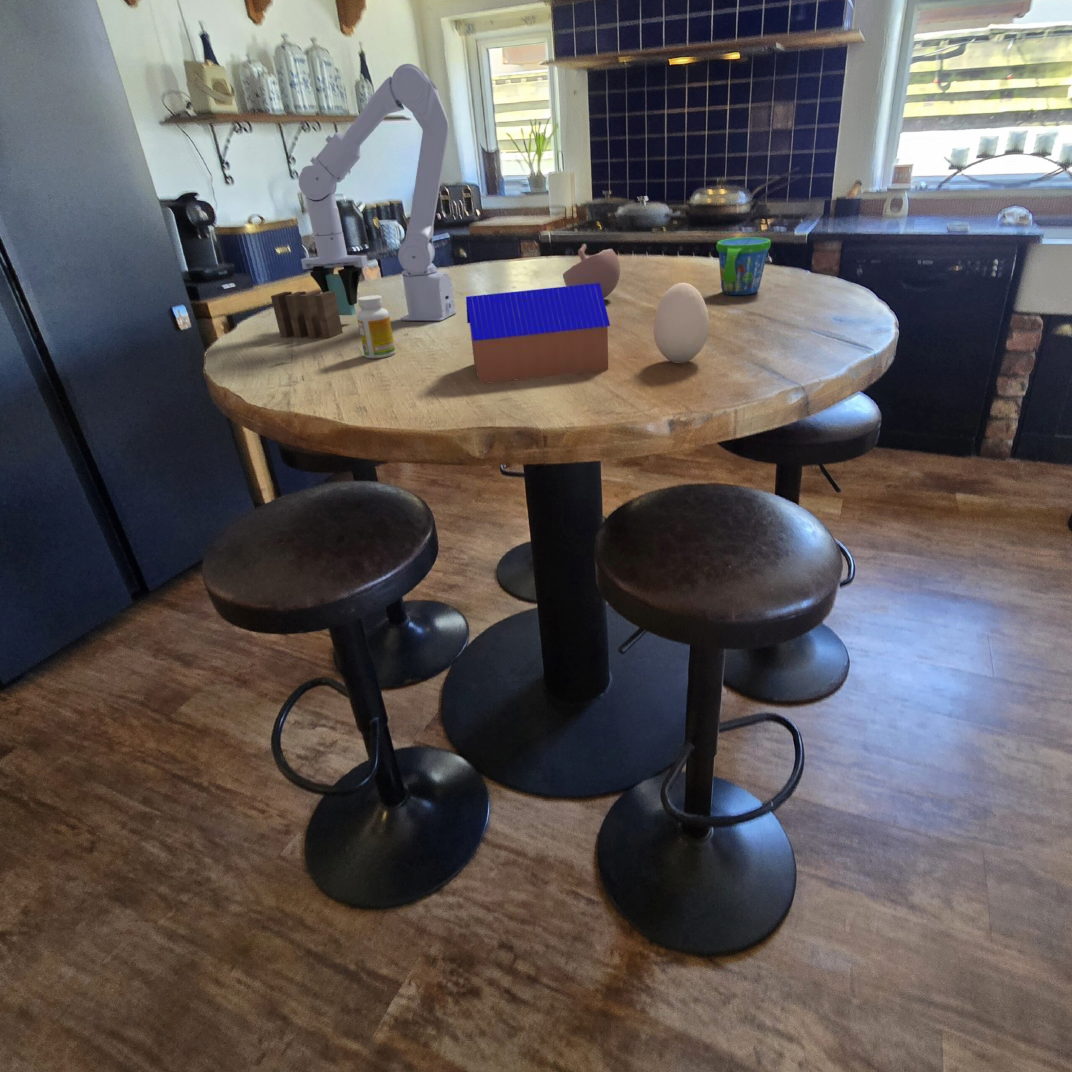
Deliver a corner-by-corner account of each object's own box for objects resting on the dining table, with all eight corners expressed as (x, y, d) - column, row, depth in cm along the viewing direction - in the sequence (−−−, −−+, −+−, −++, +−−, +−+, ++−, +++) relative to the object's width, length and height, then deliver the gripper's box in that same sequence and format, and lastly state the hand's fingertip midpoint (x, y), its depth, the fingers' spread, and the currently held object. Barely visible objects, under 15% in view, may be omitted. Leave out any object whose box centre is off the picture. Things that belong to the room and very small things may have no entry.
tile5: (300, 332, 142) (291, 291, 138) (287, 337, 138) (277, 296, 134) (294, 332, 142) (284, 291, 138) (280, 337, 139) (270, 296, 135)
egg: (650, 356, 107) (650, 280, 102) (701, 353, 107) (705, 276, 101) (656, 371, 100) (657, 289, 95) (711, 368, 100) (716, 285, 94)
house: (611, 371, 103) (609, 289, 97) (478, 386, 101) (468, 304, 95) (593, 351, 113) (590, 276, 108) (472, 365, 111) (463, 289, 106)
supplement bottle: (401, 351, 122) (391, 293, 117) (385, 359, 117) (375, 300, 113) (374, 350, 123) (364, 294, 119) (358, 358, 119) (347, 300, 114)
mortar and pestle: (583, 294, 156) (581, 239, 150) (630, 297, 149) (630, 240, 144) (553, 305, 147) (550, 247, 142) (601, 308, 141) (600, 248, 135)
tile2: (342, 332, 138) (334, 291, 134) (330, 338, 135) (321, 295, 131) (336, 332, 139) (327, 291, 135) (323, 338, 135) (314, 295, 131)
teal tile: (338, 313, 146) (330, 274, 143) (356, 313, 145) (348, 273, 141) (334, 315, 145) (325, 275, 141) (351, 315, 144) (343, 274, 140)
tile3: (328, 332, 139) (319, 291, 136) (315, 337, 136) (306, 295, 132) (322, 332, 140) (313, 291, 136) (309, 337, 136) (299, 295, 132)
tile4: (314, 332, 141) (305, 291, 137) (301, 337, 137) (291, 295, 133) (308, 332, 141) (298, 291, 137) (294, 337, 137) (284, 295, 134)
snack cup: (748, 301, 137) (752, 246, 132) (699, 298, 143) (702, 245, 138) (778, 287, 147) (783, 235, 142) (732, 284, 153) (735, 235, 148)
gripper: (285, 238, 137) (302, 308, 143) (348, 235, 132) (362, 308, 139) (307, 233, 142) (322, 301, 149) (367, 230, 138) (380, 300, 144)
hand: (343, 304), depth 144 cm, fingers closed on teal tile, 4 cm apart
